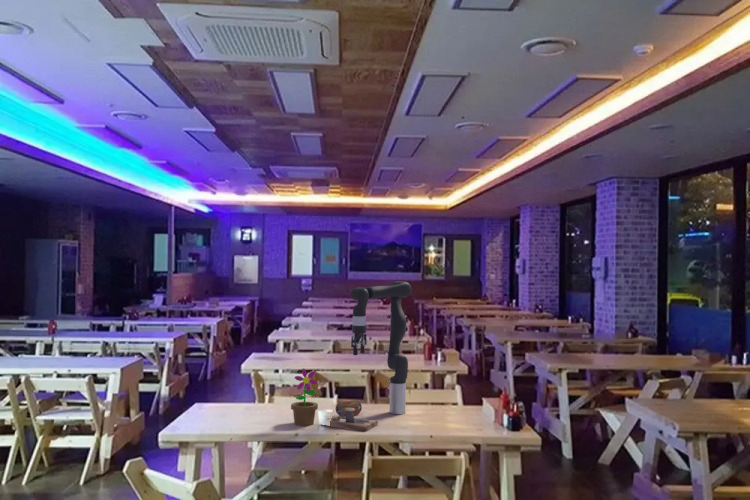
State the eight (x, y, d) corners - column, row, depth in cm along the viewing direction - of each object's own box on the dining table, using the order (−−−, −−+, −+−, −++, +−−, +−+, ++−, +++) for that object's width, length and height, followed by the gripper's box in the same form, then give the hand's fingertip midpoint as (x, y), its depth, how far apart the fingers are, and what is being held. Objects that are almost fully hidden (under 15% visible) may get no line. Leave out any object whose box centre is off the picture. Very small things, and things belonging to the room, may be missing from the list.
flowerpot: (292, 427, 340) (293, 369, 341) (288, 421, 354) (289, 365, 354) (320, 426, 344) (321, 368, 344) (315, 419, 358) (316, 364, 358)
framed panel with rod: (334, 419, 358) (334, 415, 358) (377, 425, 347) (377, 420, 347) (321, 425, 346) (321, 420, 346) (366, 431, 335) (366, 426, 335)
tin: (336, 417, 365) (336, 401, 365) (334, 415, 368) (334, 400, 368) (361, 415, 371) (362, 400, 371) (359, 413, 374) (360, 399, 374)
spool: (347, 423, 350) (347, 407, 350) (356, 425, 348) (356, 408, 348) (342, 426, 345) (343, 409, 345) (351, 427, 343) (352, 410, 343)
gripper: (359, 325, 351) (359, 356, 350) (370, 323, 364) (370, 353, 363) (347, 325, 354) (346, 355, 353) (358, 323, 367) (358, 352, 366)
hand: (358, 354), depth 358 cm, fingers open, 8 cm apart
